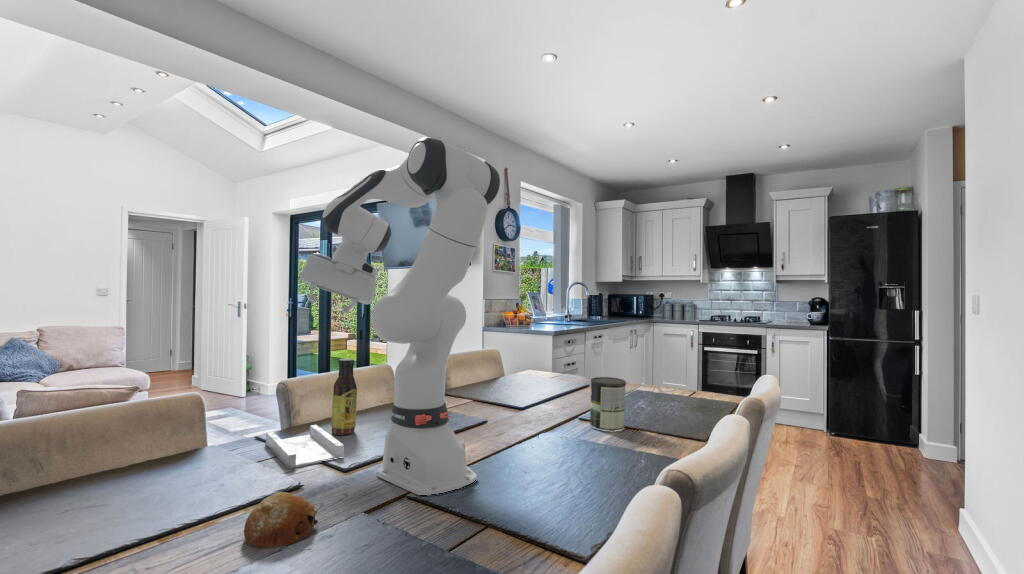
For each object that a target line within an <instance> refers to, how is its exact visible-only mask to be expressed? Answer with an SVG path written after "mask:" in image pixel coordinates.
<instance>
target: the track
mask: <svg viewBox="0 0 1024 574" xmlns="http://www.w3.org/2000/svg"><path fill="white" fill-rule="evenodd" d="M309 429H310V430H309V434H306V435H300V436H294V437H287V438H281V437H280V436H278V435H277V434H276V433H275V432H274V431H266V433H265V435H266V436H265V437H266V438H265V445H266V446H267V447H268V448H269V450H270V451H271V452H272V454H274V455H275V456H276V457H277V458H278V460H279V461H280V462H281V464H283V465H284V466H285V467H286V469H288V470H291V469H295V468H296V469H297V468H300V467H301V468H302V467H306V466H311V465H317V464H320V463H323V462H322V461H323V460H328V459H334V458H339V457H344V456H345V455H344V453H345V445H344V444H343V442H340V441H339V440H338V439H336V438H335V437H334V436H332V434H330V433H328V432H327V431H325V430H324V429H323V428H322V427H321V426H318V425H317V424H313V425H312V424H311V425H310V426H309Z"/></svg>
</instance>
